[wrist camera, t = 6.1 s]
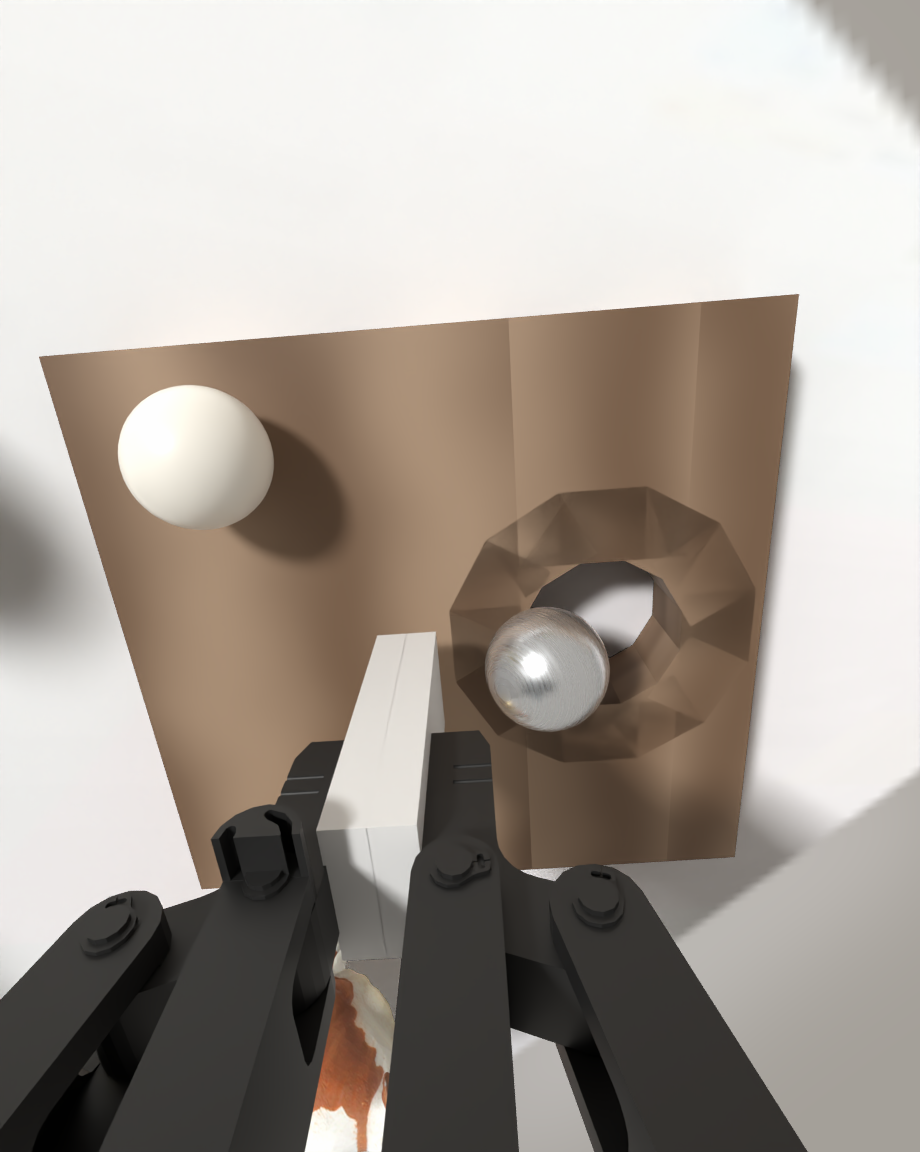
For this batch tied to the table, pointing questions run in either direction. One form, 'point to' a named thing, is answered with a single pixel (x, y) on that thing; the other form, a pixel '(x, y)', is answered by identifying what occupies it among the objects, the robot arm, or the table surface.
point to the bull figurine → (353, 1068)
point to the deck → (461, 554)
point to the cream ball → (195, 457)
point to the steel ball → (547, 669)
